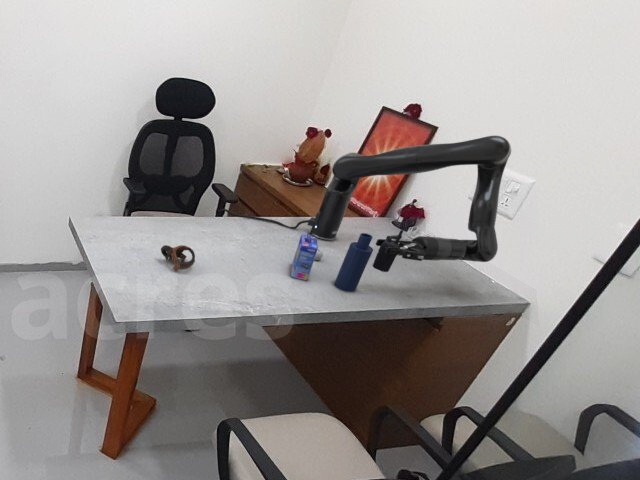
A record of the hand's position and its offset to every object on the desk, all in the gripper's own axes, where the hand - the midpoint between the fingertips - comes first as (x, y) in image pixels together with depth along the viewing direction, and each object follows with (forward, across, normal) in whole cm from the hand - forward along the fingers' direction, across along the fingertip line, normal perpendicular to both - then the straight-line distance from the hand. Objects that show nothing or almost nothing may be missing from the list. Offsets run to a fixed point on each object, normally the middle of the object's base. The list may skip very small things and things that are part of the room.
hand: (381, 246), depth 165 cm
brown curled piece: (+63, -9, +15) cm, 65 cm away
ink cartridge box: (+20, -8, +16) cm, 26 cm away
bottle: (+7, 0, +16) cm, 17 cm away
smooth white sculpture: (+9, -21, +16) cm, 28 cm away
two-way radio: (-3, 0, +9) cm, 9 cm away
